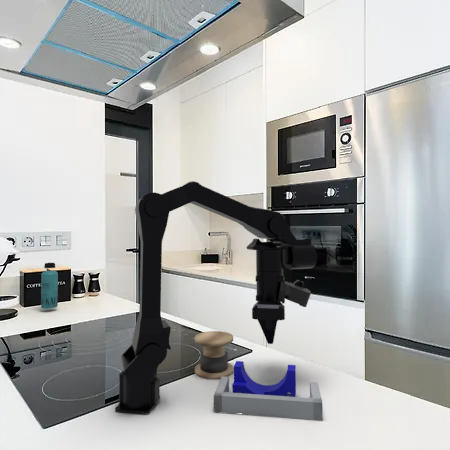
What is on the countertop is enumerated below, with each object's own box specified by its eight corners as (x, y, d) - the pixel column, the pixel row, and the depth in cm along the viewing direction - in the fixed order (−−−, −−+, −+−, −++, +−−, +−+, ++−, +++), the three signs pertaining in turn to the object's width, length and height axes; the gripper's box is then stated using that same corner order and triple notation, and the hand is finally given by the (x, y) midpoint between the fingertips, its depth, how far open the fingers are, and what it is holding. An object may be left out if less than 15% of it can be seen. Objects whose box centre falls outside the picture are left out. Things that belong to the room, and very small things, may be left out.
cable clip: (232, 400, 69) (232, 369, 69) (236, 390, 73) (236, 360, 73) (295, 406, 66) (295, 373, 66) (295, 395, 71) (295, 365, 71)
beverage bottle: (44, 309, 151) (44, 262, 151) (60, 308, 151) (60, 261, 152) (37, 312, 144) (38, 263, 145) (54, 312, 145) (55, 263, 145)
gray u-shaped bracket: (213, 412, 64) (213, 395, 64) (221, 391, 72) (221, 376, 72) (322, 420, 61) (322, 402, 61) (317, 397, 69) (317, 382, 69)
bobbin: (190, 377, 79) (190, 341, 79) (199, 363, 88) (199, 330, 88) (230, 380, 78) (230, 343, 78) (235, 365, 86) (235, 331, 87)
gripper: (311, 276, 66) (312, 361, 66) (305, 266, 84) (306, 332, 84) (251, 275, 68) (252, 358, 68) (258, 266, 86) (259, 330, 86)
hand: (270, 343), depth 76 cm, fingers closed
